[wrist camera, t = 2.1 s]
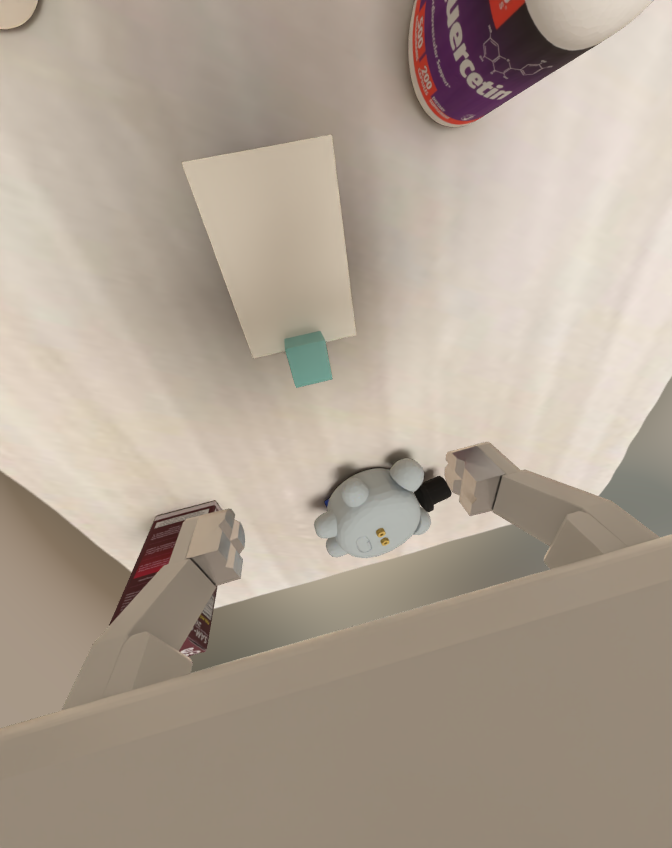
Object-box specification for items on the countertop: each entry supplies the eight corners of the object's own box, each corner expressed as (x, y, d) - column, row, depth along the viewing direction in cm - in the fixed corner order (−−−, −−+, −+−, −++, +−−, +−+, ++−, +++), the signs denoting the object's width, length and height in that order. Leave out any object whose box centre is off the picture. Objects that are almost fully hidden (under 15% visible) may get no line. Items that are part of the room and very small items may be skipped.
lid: (188, 168, 16) (165, 148, 13) (328, 142, 17) (340, 116, 13) (262, 376, 24) (260, 396, 21) (355, 354, 25) (367, 370, 21)
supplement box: (173, 534, 39) (121, 678, 26) (155, 515, 36) (86, 664, 23) (231, 519, 39) (208, 653, 26) (217, 499, 37) (184, 636, 24)
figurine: (331, 544, 47) (431, 497, 48) (346, 593, 40) (462, 537, 41) (294, 481, 37) (422, 425, 38) (305, 532, 30) (461, 462, 31)
